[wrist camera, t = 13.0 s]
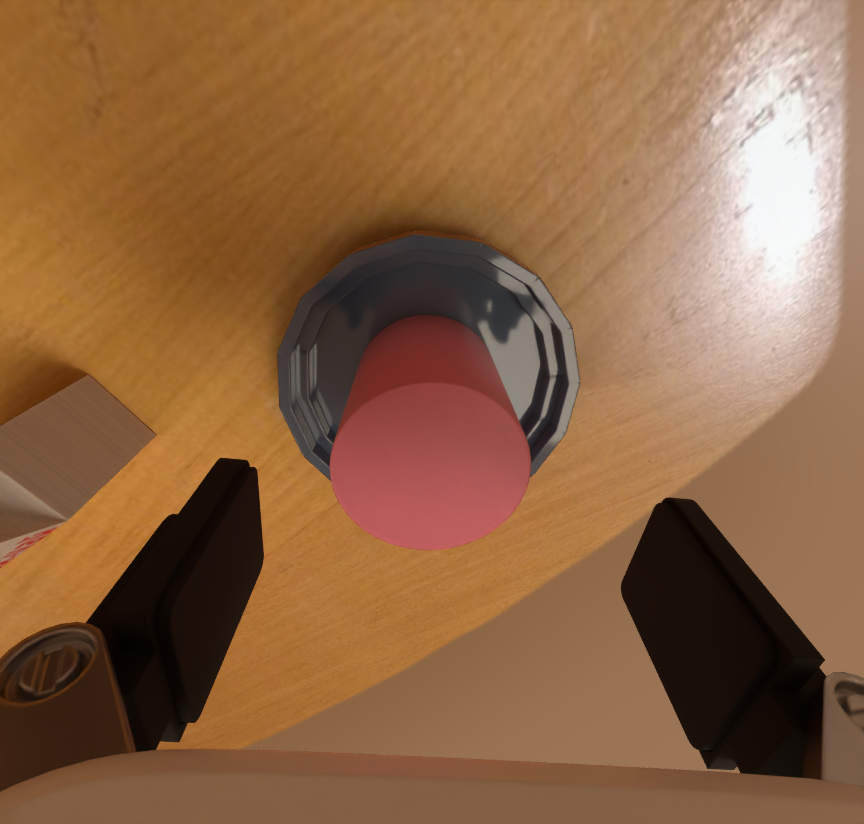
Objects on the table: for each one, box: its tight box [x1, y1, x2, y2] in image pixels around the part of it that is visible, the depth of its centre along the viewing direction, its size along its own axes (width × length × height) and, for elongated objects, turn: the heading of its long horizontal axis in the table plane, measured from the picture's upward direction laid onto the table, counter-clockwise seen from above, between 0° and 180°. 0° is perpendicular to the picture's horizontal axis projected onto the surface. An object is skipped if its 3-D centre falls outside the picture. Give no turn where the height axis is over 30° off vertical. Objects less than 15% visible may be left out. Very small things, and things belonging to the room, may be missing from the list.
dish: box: [277, 230, 580, 481], centre depth 19 cm, size 12×12×2 cm
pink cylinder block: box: [330, 315, 531, 550], centre depth 17 cm, size 6×6×7 cm
